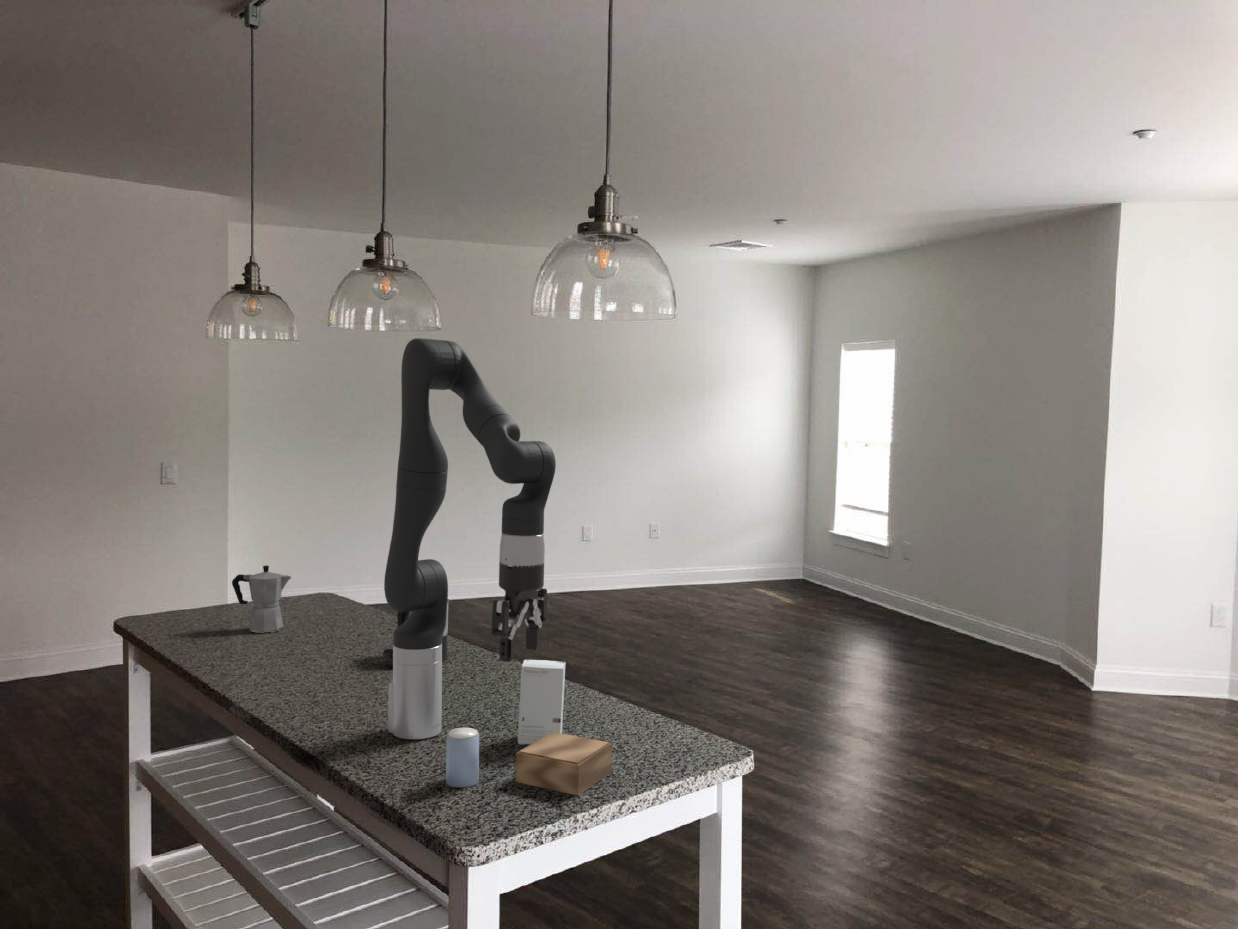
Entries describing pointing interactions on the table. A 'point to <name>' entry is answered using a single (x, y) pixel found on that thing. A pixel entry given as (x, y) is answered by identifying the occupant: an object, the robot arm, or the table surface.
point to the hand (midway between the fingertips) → (519, 655)
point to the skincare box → (540, 699)
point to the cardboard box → (564, 763)
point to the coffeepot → (263, 598)
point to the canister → (462, 757)
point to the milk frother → (403, 617)
